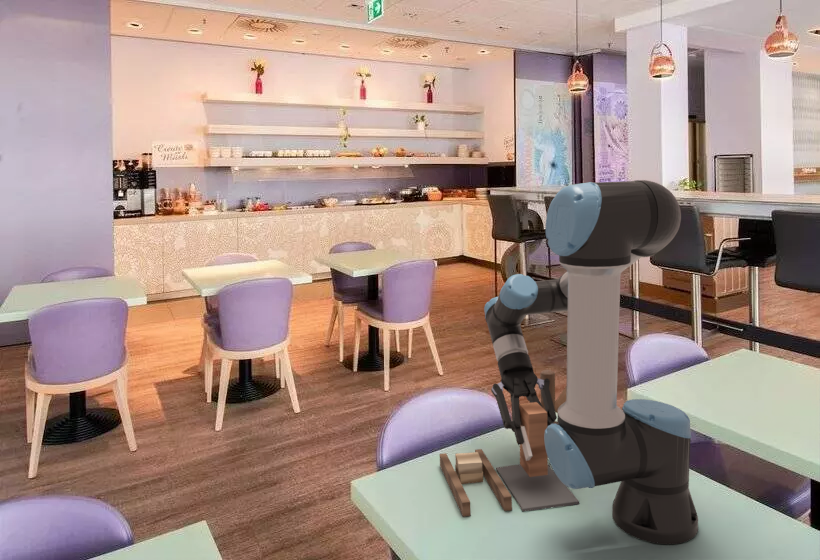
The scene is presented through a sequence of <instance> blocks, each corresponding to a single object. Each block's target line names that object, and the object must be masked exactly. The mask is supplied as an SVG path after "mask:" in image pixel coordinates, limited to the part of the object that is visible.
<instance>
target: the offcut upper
mask: <svg viewBox="0 0 820 560" xmlns="http://www.w3.org/2000/svg"><path fill="white" fill-rule="evenodd" d="M454 454H455V456H454V458H455V464H456V467H457V470H458V473H459V475H460V474H474V473H482V461H481V458H480V456H479V454H478V452H475V451H473V452H463V453H462V452H461V453H460V452H459V453H454Z"/></svg>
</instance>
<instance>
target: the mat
mask: <svg viewBox="0 0 820 560" xmlns="http://www.w3.org/2000/svg"><path fill="white" fill-rule="evenodd" d="M495 471H496V472H497V474H498V476H499V477H500V479H501V480H502V482H503V483H504V485H505V487H506V488H507V490H508V491H509V493H510V494H511V496H512V497H513V499H514V500H515V501H516V504H517V505H518V507H519V508H520V510H521V511H522V512H530V511H537V510H538V511H539V510H545V508H546V509H552V508H551V507H553V508H560V507H567V506H573V505H574V504H575V505H579V504H580V500H579V499H578V498H577V496H575V494H574V493H573V492H572V491H571V490H570V488H569V487H567V486H566V485H564V484H563V483H562V482H561V481H560V479H559V478H558V477H557V475H556V474H555V472H554V470H553V468H552V466H550V465H549V464H548V475H542V476H534V477H529V475H528V474H527V473H526V471H525V470H524V469H523V467H522V466H521V465H520V463H518V464H512V465H504V466H496V467H495ZM575 505H574V506H575Z"/></svg>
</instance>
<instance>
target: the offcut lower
mask: <svg viewBox="0 0 820 560" xmlns="http://www.w3.org/2000/svg"><path fill="white" fill-rule="evenodd" d="M454 467H455V468H454V470H455V472H456V474H457V476H458V478H459V480H460V482H461V484H462V485H467V484H475V483H483V482H484V476H483V472H482V473H474V474H460V475H459V473H458V470H457V467H456V463H455V464H454Z"/></svg>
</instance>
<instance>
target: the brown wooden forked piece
mask: <svg viewBox="0 0 820 560" xmlns="http://www.w3.org/2000/svg"><path fill="white" fill-rule="evenodd" d="M539 375H540V376H539V377H540V378H539V379H542V380H545V379H546V378H547V379H549V380H550V384H549V390H550V394H551V397H552V401H553V405H554V409H555V412H556V414H558V408H559V407H560V406H561V405H562V404H563V403H564V402H566V388H567V385H566V386H565V387H564V388H563V390H562V391H561V393H560V394H559V395H558V397H557V399H556V373H555V371H554V370H552V369H543V370H541V371H540V373H539ZM539 390H540V389H539ZM540 392H541V390H540ZM540 403H541V404H542V406H543V408H544V410H545V406H544V402H543V399H542V395H541V394H540ZM545 411H546V410H545ZM553 424H557V420H555V422H554V423H553ZM550 425H551V424H550Z"/></svg>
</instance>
